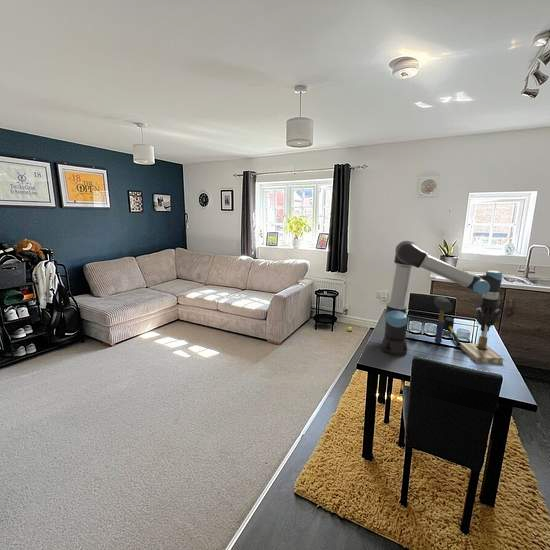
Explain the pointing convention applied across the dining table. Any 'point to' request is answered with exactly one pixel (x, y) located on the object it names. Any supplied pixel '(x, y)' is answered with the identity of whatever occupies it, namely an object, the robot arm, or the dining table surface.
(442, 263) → the robot arm
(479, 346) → the peg
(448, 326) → the mallet
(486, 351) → the board
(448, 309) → the rubber mallet
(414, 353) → the dining table surface
